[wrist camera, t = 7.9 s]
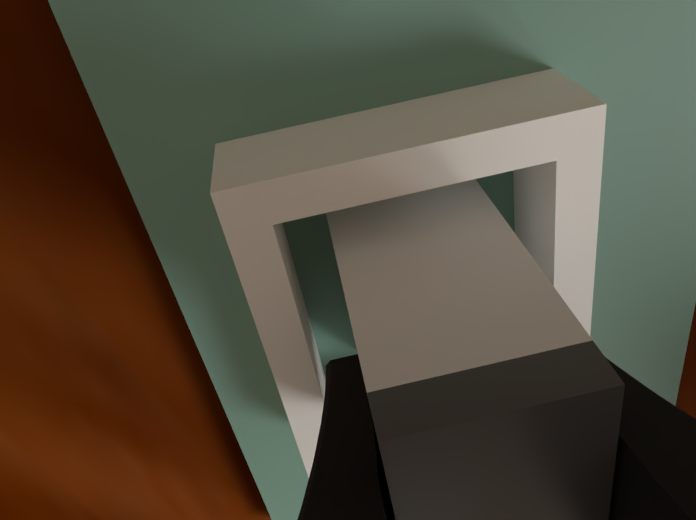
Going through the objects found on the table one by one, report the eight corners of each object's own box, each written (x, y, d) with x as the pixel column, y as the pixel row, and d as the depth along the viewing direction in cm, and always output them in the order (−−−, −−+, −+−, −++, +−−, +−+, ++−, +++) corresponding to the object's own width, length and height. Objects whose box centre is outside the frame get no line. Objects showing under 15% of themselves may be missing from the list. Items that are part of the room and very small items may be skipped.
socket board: (647, 433, 19) (705, 517, 17) (282, 519, 19) (288, 617, 17) (770, -325, 9) (962, -394, 7) (1, -162, 9) (-92, -172, 7)
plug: (479, 320, 14) (603, 562, 9) (356, 348, 14) (415, 606, 9) (469, 170, 12) (625, 384, 7) (323, 203, 12) (377, 442, 7)
